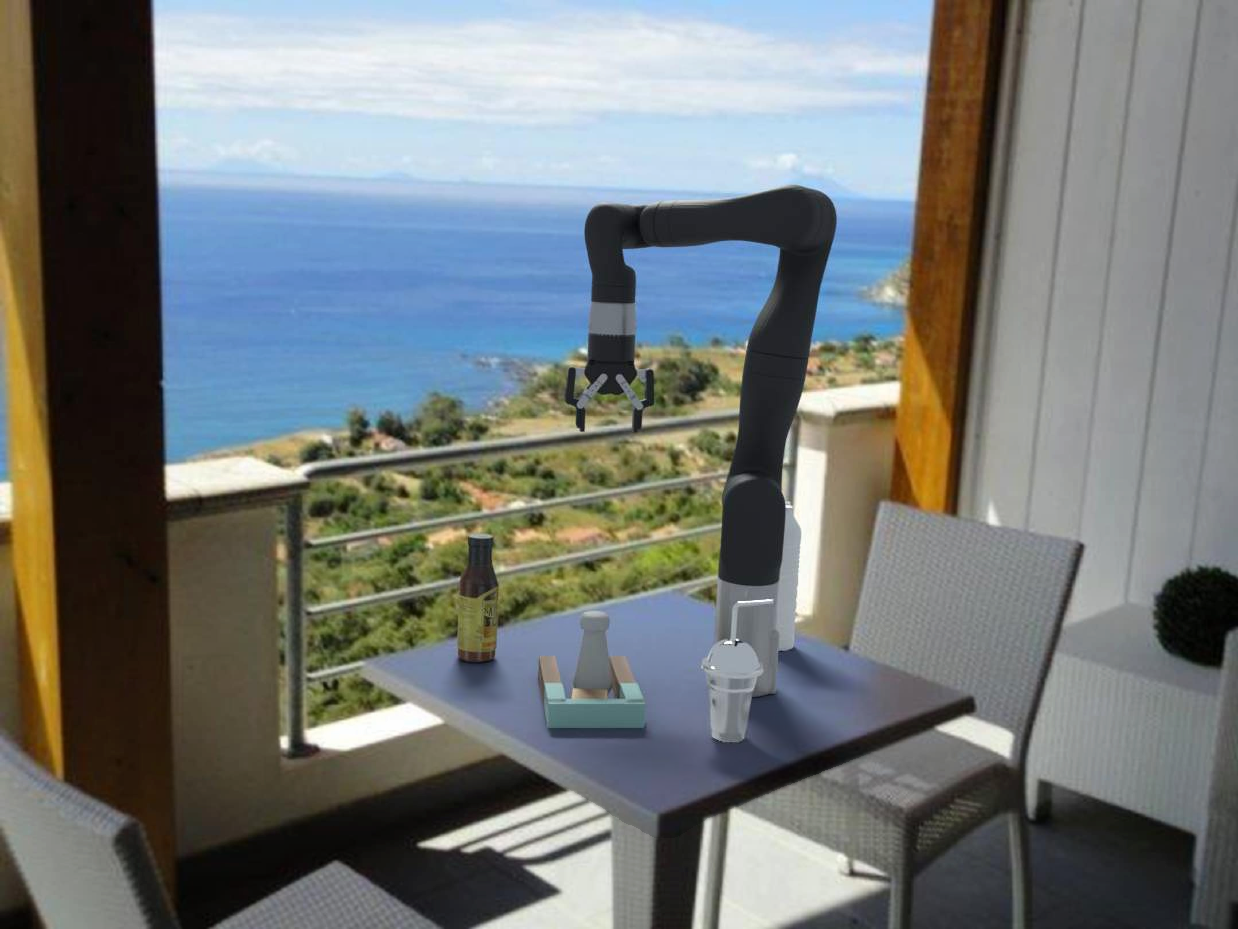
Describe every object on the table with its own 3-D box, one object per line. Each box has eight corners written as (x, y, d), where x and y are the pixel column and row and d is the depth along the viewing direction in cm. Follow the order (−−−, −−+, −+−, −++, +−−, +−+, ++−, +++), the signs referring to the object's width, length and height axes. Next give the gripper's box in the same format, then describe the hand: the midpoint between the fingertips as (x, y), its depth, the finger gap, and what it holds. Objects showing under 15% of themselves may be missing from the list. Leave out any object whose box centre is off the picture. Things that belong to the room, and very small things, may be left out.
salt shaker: (618, 697, 193) (622, 612, 191) (598, 708, 188) (602, 621, 186) (585, 689, 196) (589, 605, 194) (564, 699, 191) (567, 613, 189)
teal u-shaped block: (636, 706, 189) (637, 683, 189) (644, 728, 181) (645, 703, 180) (543, 706, 188) (544, 683, 187) (547, 728, 179) (548, 703, 179)
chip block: (606, 709, 188) (607, 690, 188) (606, 722, 183) (606, 702, 183) (572, 708, 188) (572, 688, 188) (570, 720, 183) (571, 700, 183)
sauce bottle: (489, 666, 204) (493, 542, 201) (451, 662, 205) (454, 538, 202) (501, 653, 211) (505, 533, 207) (464, 649, 212) (467, 530, 208)
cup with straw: (720, 720, 185) (728, 584, 182) (774, 738, 179) (783, 597, 176) (684, 736, 179) (692, 594, 175) (739, 755, 173) (748, 608, 170)
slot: (624, 674, 203) (625, 656, 203) (636, 706, 189) (637, 686, 189) (538, 674, 201) (538, 655, 201) (543, 706, 188) (544, 686, 187)
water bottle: (754, 639, 225) (763, 496, 220) (792, 641, 224) (802, 498, 220) (756, 654, 216) (766, 506, 212) (796, 657, 216) (806, 508, 212)
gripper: (653, 330, 212) (648, 429, 215) (565, 328, 211) (562, 427, 214) (659, 334, 205) (655, 436, 208) (569, 331, 203) (565, 434, 206)
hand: (608, 431), depth 211 cm, fingers open, 8 cm apart
